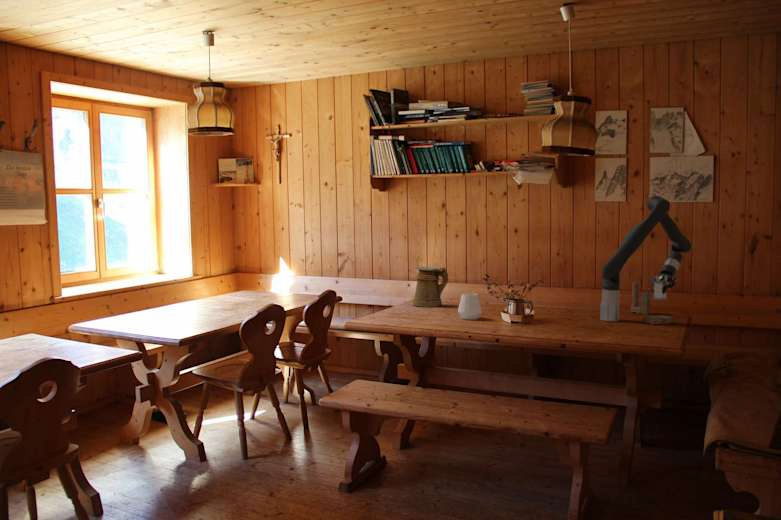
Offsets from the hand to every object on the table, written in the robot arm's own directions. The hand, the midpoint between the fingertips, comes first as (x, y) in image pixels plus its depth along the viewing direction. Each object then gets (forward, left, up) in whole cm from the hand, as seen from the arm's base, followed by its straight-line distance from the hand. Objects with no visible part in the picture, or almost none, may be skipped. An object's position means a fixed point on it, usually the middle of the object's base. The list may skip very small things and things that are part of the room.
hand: (658, 292), depth 365 cm
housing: (+2, +1, -4) cm, 5 cm away
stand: (+2, +1, -17) cm, 17 cm away
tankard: (-89, +106, -17) cm, 139 cm away
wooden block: (+15, +31, -17) cm, 39 cm away
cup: (-87, +51, -17) cm, 103 cm away
